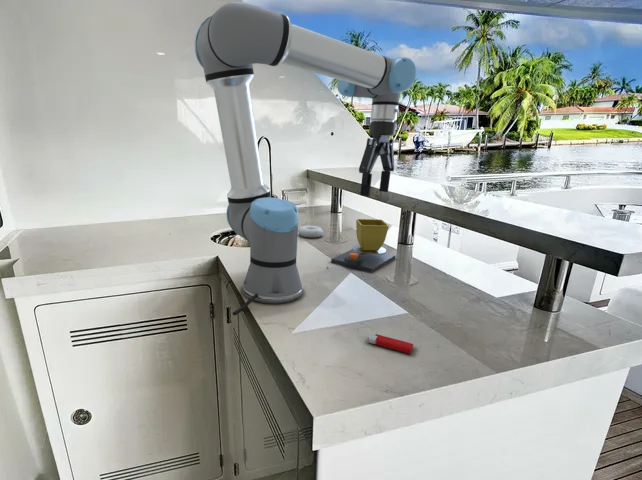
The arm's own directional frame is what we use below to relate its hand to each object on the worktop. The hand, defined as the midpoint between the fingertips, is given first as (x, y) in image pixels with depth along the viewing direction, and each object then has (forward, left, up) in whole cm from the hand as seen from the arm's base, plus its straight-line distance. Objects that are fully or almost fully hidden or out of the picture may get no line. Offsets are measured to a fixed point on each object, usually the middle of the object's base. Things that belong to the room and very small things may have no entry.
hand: (374, 193), depth 119 cm
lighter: (-48, -28, -22) cm, 60 cm away
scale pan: (0, 0, -19) cm, 19 cm away
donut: (+12, +31, -22) cm, 40 cm away
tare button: (-10, 0, -19) cm, 22 cm away
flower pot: (0, 0, -18) cm, 18 cm away
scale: (-3, 0, -22) cm, 22 cm away
